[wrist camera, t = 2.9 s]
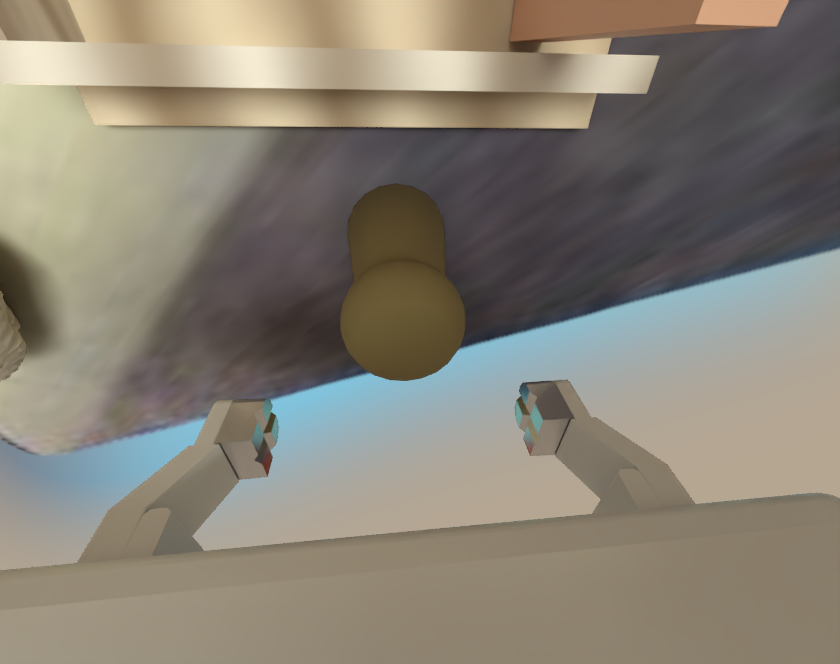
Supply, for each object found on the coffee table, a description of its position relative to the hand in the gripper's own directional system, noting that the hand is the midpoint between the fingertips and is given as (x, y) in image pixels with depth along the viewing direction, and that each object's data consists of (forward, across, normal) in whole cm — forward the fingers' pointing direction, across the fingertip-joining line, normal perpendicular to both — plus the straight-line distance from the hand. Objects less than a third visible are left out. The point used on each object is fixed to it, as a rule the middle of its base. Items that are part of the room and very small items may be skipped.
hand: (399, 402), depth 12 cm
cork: (+14, 0, 0) cm, 14 cm away
